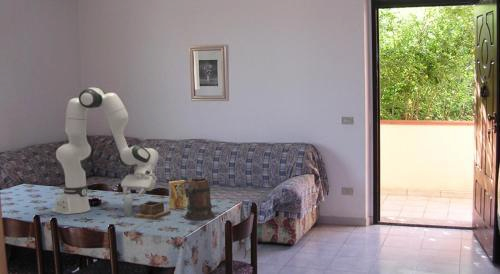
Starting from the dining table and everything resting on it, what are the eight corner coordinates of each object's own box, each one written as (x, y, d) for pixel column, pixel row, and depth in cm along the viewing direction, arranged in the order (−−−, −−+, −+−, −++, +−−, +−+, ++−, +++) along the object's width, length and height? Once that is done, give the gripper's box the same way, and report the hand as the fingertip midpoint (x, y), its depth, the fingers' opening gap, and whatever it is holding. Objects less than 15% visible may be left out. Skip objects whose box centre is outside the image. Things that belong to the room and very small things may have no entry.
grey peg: (122, 216, 298) (121, 196, 297) (128, 214, 302) (127, 194, 301) (129, 216, 296) (128, 196, 295) (134, 214, 300) (133, 195, 299)
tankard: (190, 212, 303) (189, 176, 301) (220, 213, 298) (218, 177, 296) (173, 223, 280) (171, 184, 278) (204, 225, 276) (203, 185, 274)
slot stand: (133, 217, 295) (133, 205, 295) (149, 211, 308) (149, 199, 307) (155, 219, 289) (154, 207, 288) (170, 213, 301) (170, 201, 301)
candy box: (183, 206, 319) (182, 179, 317) (186, 207, 315) (185, 180, 314) (169, 208, 314) (168, 181, 313) (172, 209, 311) (171, 182, 309)
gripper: (124, 170, 312) (114, 190, 304) (154, 172, 302) (144, 193, 295) (130, 176, 316) (119, 197, 308) (159, 178, 307) (149, 199, 299)
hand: (132, 195), depth 301 cm, fingers open, 8 cm apart
